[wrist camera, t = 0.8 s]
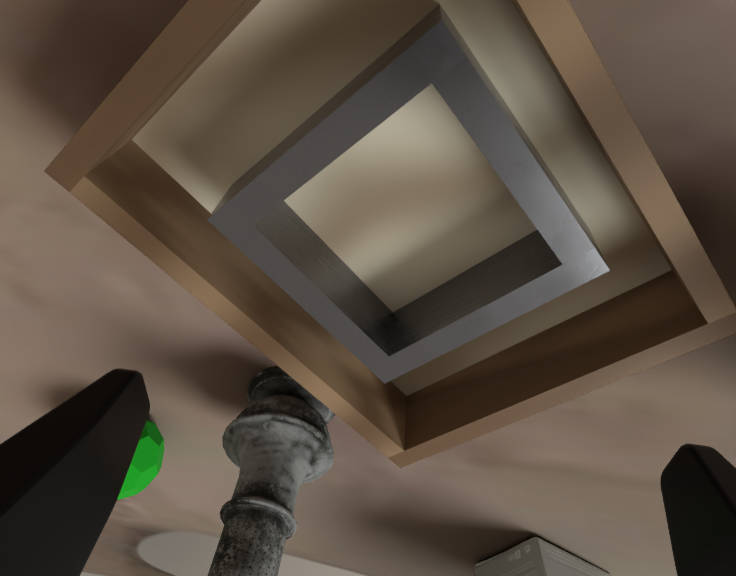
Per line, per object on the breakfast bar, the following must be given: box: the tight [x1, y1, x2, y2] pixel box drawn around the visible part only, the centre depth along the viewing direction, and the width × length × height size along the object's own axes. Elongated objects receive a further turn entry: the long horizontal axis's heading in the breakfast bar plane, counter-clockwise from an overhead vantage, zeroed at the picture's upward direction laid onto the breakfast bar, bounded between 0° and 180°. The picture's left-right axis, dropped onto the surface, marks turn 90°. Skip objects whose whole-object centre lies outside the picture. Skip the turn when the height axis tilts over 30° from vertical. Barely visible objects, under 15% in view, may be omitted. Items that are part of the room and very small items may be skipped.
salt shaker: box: [208, 367, 335, 576], centre depth 25 cm, size 6×6×12 cm
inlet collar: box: [207, 4, 610, 384], centre depth 20 cm, size 10×10×3 cm
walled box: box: [45, 0, 736, 468], centre depth 20 cm, size 20×16×4 cm
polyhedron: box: [117, 420, 164, 500], centre depth 30 cm, size 5×5×5 cm
